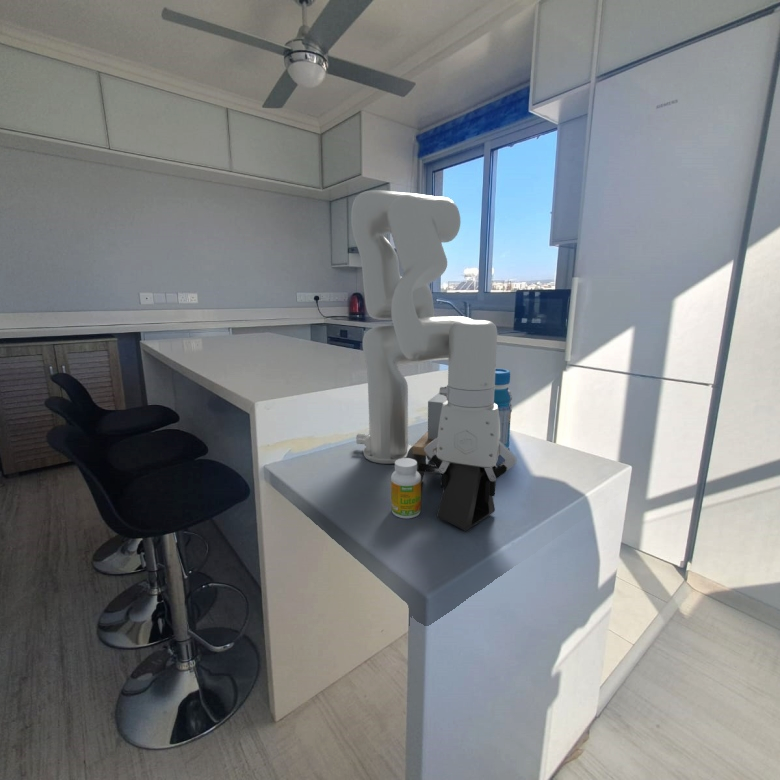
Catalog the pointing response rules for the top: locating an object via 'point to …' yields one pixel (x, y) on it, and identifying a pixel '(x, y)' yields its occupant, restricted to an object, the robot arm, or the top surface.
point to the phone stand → (465, 497)
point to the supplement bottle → (406, 489)
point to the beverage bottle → (503, 403)
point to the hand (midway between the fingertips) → (467, 494)
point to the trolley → (428, 437)
